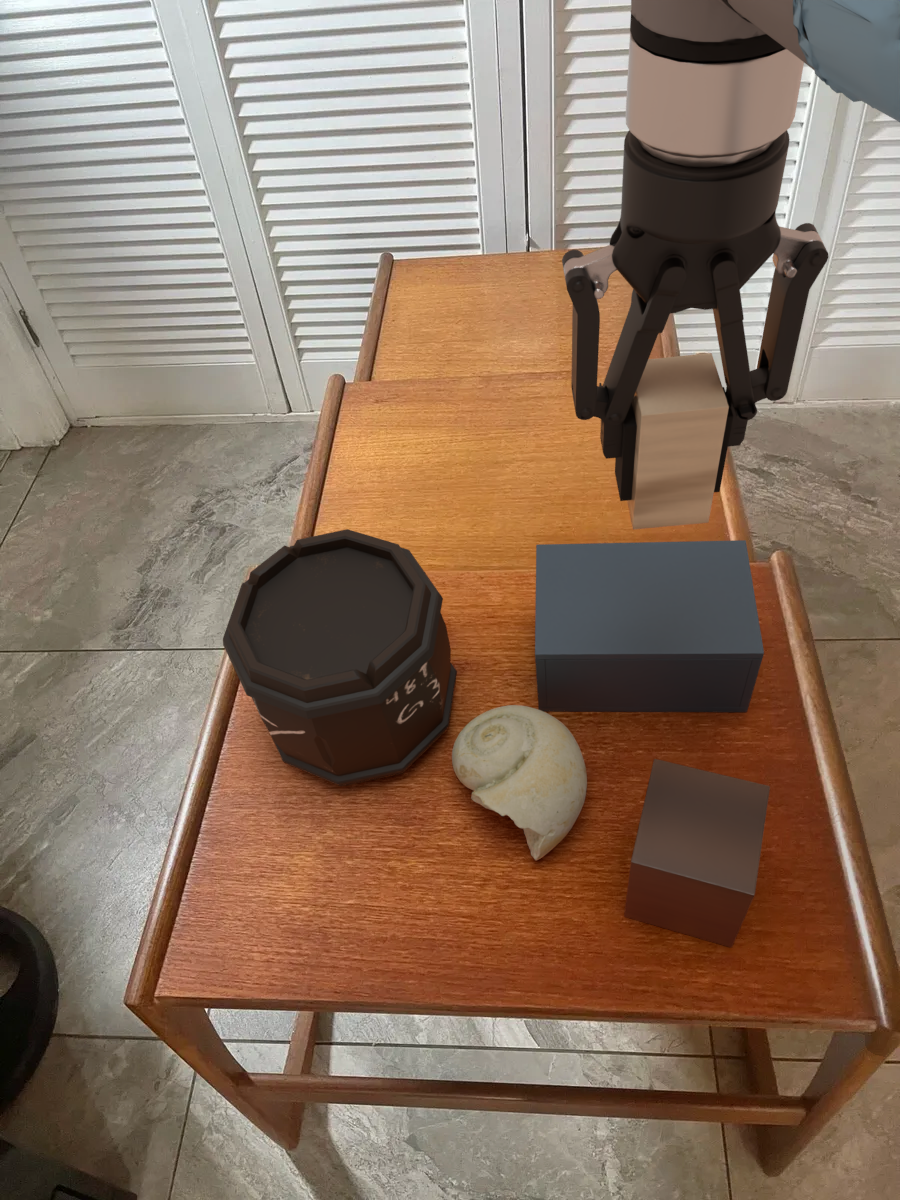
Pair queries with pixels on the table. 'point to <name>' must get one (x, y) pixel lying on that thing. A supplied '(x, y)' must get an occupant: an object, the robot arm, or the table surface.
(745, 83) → the robot arm
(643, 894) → the plinth
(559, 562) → the lid
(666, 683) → the chest
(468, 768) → the seashell
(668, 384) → the block
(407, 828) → the table surface
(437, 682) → the octagonal dark pot
